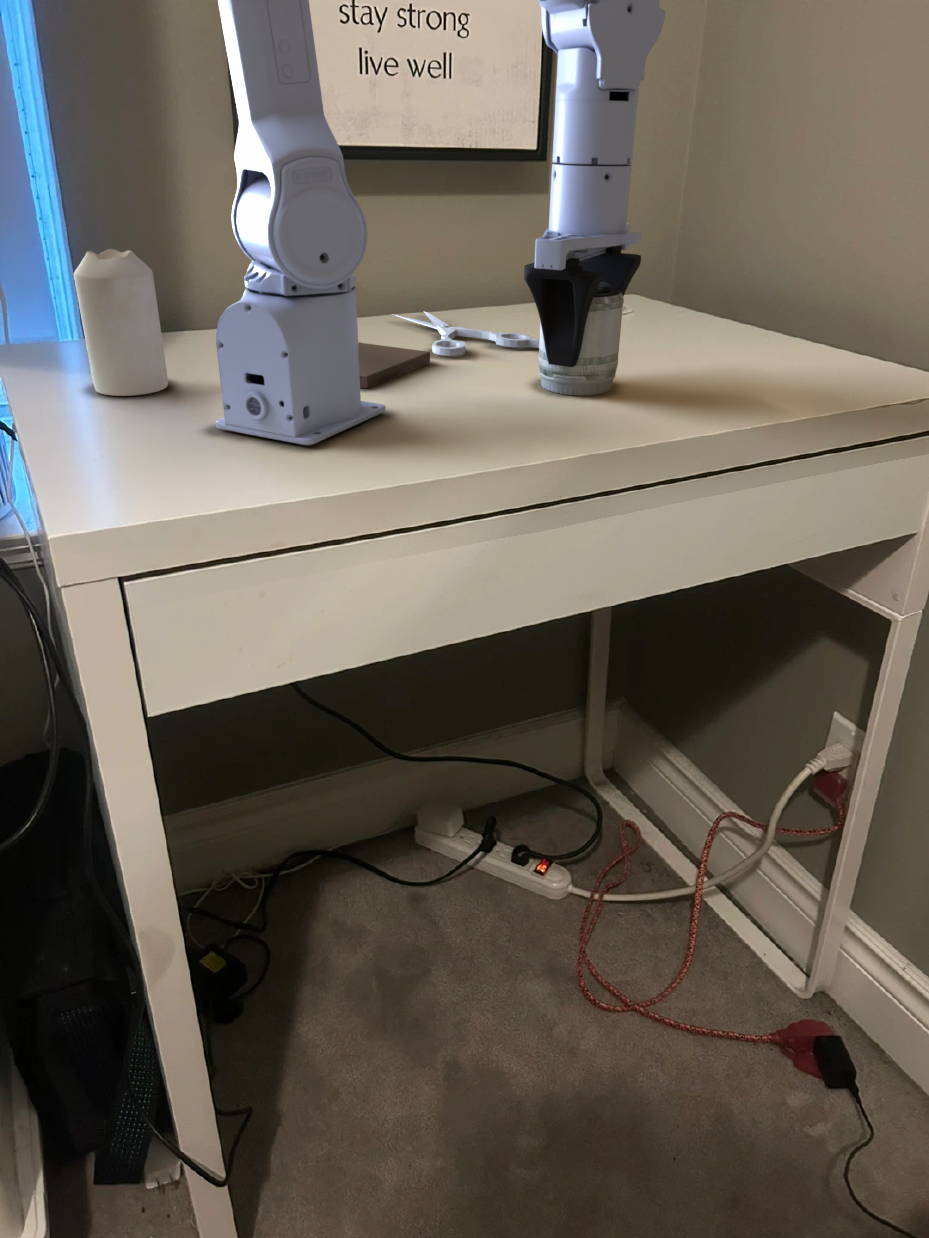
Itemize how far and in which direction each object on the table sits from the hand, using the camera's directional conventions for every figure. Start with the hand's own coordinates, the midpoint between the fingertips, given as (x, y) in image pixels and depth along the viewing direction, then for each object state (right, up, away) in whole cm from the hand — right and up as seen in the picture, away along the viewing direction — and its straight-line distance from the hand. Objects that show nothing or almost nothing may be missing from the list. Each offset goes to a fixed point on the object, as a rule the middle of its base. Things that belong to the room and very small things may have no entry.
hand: (578, 356), depth 72 cm
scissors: (-10, +7, +18) cm, 22 cm away
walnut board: (-19, +1, +6) cm, 20 cm away
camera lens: (0, -2, +1) cm, 3 cm away
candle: (-35, -3, -1) cm, 35 cm away
